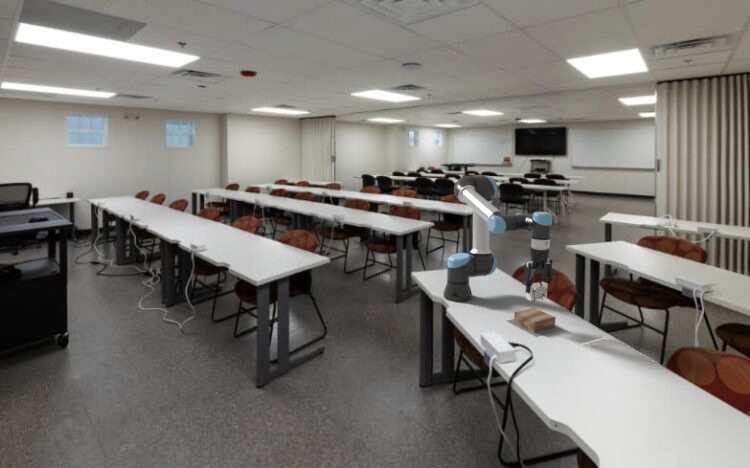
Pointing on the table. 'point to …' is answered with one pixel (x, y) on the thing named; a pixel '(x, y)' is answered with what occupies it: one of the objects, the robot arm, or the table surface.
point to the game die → (538, 291)
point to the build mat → (537, 332)
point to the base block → (534, 320)
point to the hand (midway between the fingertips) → (536, 298)
